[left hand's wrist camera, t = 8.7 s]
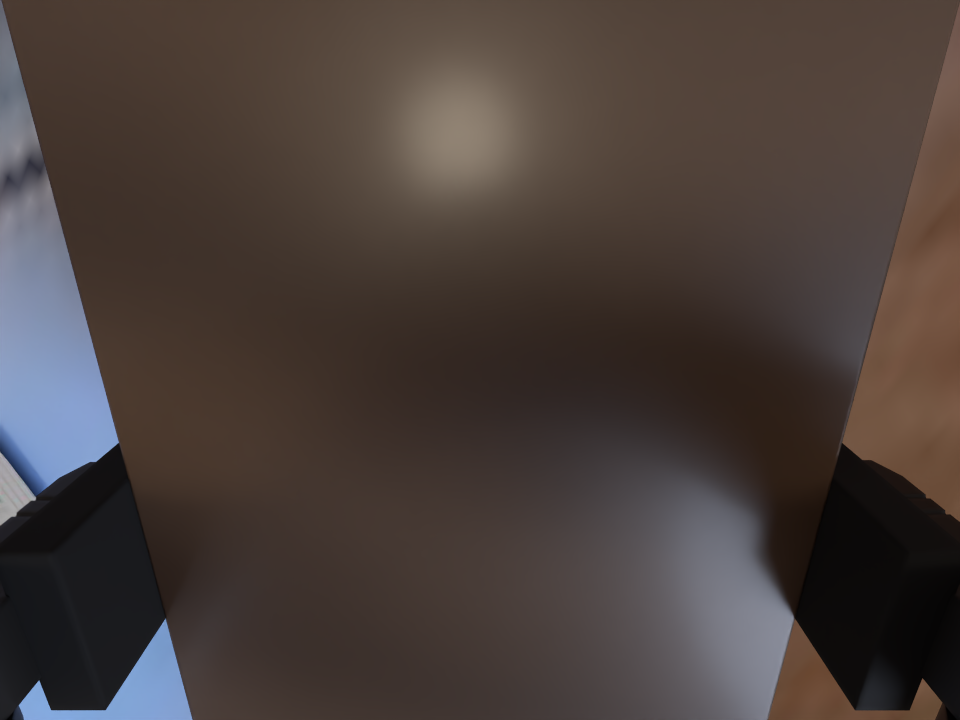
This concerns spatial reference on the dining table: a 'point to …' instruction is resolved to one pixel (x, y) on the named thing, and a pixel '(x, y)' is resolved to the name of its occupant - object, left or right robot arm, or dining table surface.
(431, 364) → the taupe rectangular box
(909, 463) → the dining table surface
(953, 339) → the dining table surface
